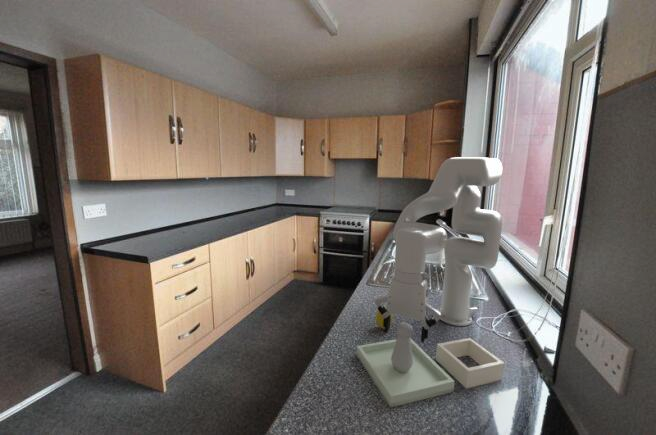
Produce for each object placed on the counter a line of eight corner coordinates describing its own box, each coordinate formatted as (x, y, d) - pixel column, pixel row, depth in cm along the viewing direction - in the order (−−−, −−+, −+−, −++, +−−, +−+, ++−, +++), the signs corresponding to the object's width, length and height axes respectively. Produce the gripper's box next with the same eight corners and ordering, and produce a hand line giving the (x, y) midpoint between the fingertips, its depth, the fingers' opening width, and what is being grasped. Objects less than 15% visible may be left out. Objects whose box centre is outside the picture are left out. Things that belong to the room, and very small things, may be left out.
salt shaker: (386, 364, 81) (389, 321, 78) (402, 359, 83) (406, 317, 81) (399, 378, 75) (403, 332, 73) (416, 372, 78) (420, 328, 76)
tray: (408, 345, 91) (409, 337, 91) (453, 391, 72) (454, 381, 72) (356, 355, 86) (357, 345, 85) (390, 407, 67) (391, 396, 66)
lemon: (391, 334, 97) (393, 312, 96) (375, 331, 98) (376, 310, 97) (391, 325, 103) (392, 304, 101) (375, 323, 104) (377, 303, 103)
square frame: (468, 352, 89) (469, 337, 88) (502, 379, 77) (504, 362, 76) (435, 359, 85) (437, 343, 84) (466, 388, 74) (468, 371, 73)
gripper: (445, 276, 74) (440, 336, 77) (380, 265, 82) (378, 320, 85) (442, 287, 67) (436, 352, 71) (372, 273, 75) (369, 333, 78)
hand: (404, 334), depth 78 cm, fingers open, 9 cm apart
